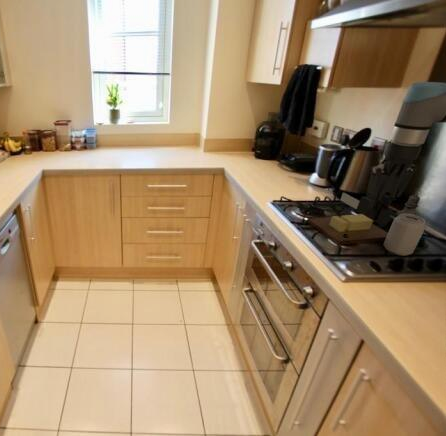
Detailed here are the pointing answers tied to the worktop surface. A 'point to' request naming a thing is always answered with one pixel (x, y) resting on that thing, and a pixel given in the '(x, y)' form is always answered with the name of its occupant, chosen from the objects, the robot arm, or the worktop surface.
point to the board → (347, 232)
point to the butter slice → (338, 223)
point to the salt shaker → (410, 205)
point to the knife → (363, 208)
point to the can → (404, 234)
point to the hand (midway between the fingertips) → (373, 217)
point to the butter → (357, 222)
